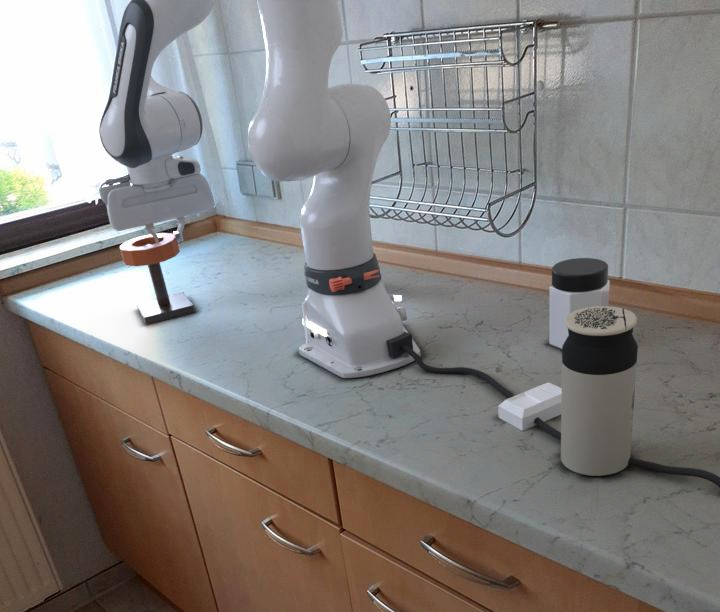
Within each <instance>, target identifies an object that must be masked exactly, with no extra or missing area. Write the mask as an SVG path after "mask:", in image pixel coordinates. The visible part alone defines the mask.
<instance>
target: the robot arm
mask: <svg viewBox="0 0 720 612" xmlns="http://www.w3.org/2000/svg"><path fill="white" fill-rule="evenodd" d="M215 2H216V0H130V1H129V3H128V4H127V6H125V9H124V11H123V14H122V17H121V22H120V26H119V31H118V36H117V42H116V48H115V54H114V59H113V67H112V73H111V78H110V83H109V87H108V95H107V99H106V103H105V104H104V107H103V110H102V112H101V115H100V121H99V126H98V127H99V129H98V130H99V131H98V132H99V136H100V137H99V138H100V141H101V145H102V147H103V148H104V150H105V152H106V153H107V154H108V155H109V156H110V157H111V158H113V159H114V160H115V161H116V162H117V163H119V164H121V165H122V166H125V167H126V171H127V174H124V175H120V176H117V177H109V178H106V179H104V181H103V182H102V183H101V184H100V185H99V188H98V192H99V196H100V199H101V201H102V202H103V204H104V205H105V206H106V210H107V216H108V217H107V218H108V222H109V225H110V227H111V228H112V229H113V230H115V231H116V232H121V231H126V230H130V229H134V228H139V227H145V230H146V231H147V232H148V233H149V234H151V235H152V236H153V237H154V238H155V242H156V243H158V242H161V241H162V240H163V236H162V235H158V236H157V235H156V233H155V232H154V230H155V225H154V224H158V223H161V222H166V221H171V220H175V221H176V222H177V224H178V226H177V229H176V231H173V232H172V234H174V235H175V236H176V238H177V242H178V243H179V242H184V241H185V239H184V235H183V231H184V229H185V225H186V219H185V217H189V216H193V215H199V214H203V213H207V212H211V211H213V210H214V208H215V206H216V205H215V203H216V202H215V199H214V195H213V192H212V189H211V185H210V184H209V181H208V179H207V178H206V176H204V175H203V174H202V173H201V164H200V162H199V161H198V160H196V158H195V159H194V158H192V157H189V156H182V155H175V154H176V153H180V152H183V151H186V150H190V149H191V148H193V147H194V146H196V145H198V144H199V142H200V140H201V138H202V136H203V135H202V134H203V127H204V126H203V118H202V114H201V111H200V108H199V107H198V105H197V103H196V101H194V99H193V98H192V97H191V96H190V95H189V94H187V93H185V92H184V91H176V90H173V89H170V88H168V87H165V86H163V85H162V84H160V83H158V82H157V81H156V80H155V79H154V77H153V76H152V72H153V67H154V64H155V62H156V60H157V59H158V57H159V55H160V54H161V53H162V51H164V50H165V49H166V48H167V47H168V46H169V45H170V44H172V43H173V42H174V41H176V39H178V38H179V37H181V36H182V35H184V34H186V33H187V32H189V31H191V30H193V29H194V28H196V27H198V26H199V25H200V24H201V23H203V22H204V21H205V20H206V19H207V18H208V17H209V16H210V14H211V12H212V11H213V8H214V5H215ZM256 3H257V8H258V12H259V18H260V19H259V20H260V24H261V29H262V35H263V41H264V48H265V77H264V85H263V92H262V96H261V100H260V103H259V106H258V108H257V110H256V112H255V114H254V116H253V118H252V119H251V121H250V123H249V126H248V130H247V148H248V153H249V155H250V158H251V160H252V162H253V164H254V166H255V167H256V169H257V170H258V171H259V172H260V173H261V175H263V176H264V177H265V178H266V179H268V180H269V181H273V182H276V183H277V182H282V183H283V182H296V181H297V182H298V181H305V180H308V179H310V178H313V180H312V186H311V190H310V193H309V195H308V197H307V199H306V201H305V202H304V204H303V205H302V208H301V210H300V212H299V213H300V214H299V220H298V221H299V227H300V234H301V239H302V240H301V241H302V245H303V252H304V258H305V263H304V265H303V267H304V278H305V282H306V287H307V288H308V291H307V294H306V297H305V298H304V300H303V302H302V303H301V310H302V312H301V313H302V319H301V320H302V325H303V329H304V337H305V342H304V343H302V344H301V345H300V346H299V347H298V354H299V355H300V356H301V357H303V358H305V359H307V360H309V361H311V362H313V363H314V364H316V365H318V366H319V367H321V368H323V369H325V370H327V371H329V372H330V373H332V374H334V375H337V376H338V377H340V378H342V379H355V378H363V377H369V376H374V375H377V374H381V373H385V372H388V371H392V370H395V369H398V368H401V367H403V366H406V365H408V364H410V363H411V364H412V363H413V362H416V364H417V366H418V367H419V368H420V369H422V370H423V371H426V372H428V373H431V374H440V375H448V374H468V375H471V376H474V377H477V378H480V379H482V380H483V381H485V382H486V383H487V384H489V385H490V386H492V387H493V388H494V389H495V390H496V391H498V392H499V393H500V394H502V395H503V396H504V397H505V398H506V399H508V398H511V397H513V396H515V395H514V394H513V393H512V392H511V391H510V390H509V389H508V388H507V387H505V386H504V385H502V384H500V382H498V381H497V380H496V379H494V378H493V377H492V376H490V375H489V374H487V373H485V372H483V371H481V370H478V369H475V368H472V367H471V368H470V367H462V366H459V367H435V366H431V365H428V364H426V363H425V362H424V361H423V359H422V358H421V357H422V353H421V350H420V348H419V346H418V344H417V343H416V341H414V339H413V334H412V333H409V332H408V330H407V329H406V327H405V326H404V325H403V322H406V321H407V319H408V316H407V310H406V308H405V306H400V307H396V305H395V302H401V301H402V295H399V294H397V295H396V294H393V293H389V291H388V290H387V287H386V285H385V282H383V281H382V274H381V273H382V272H381V270H380V269H381V268H380V267H381V266H380V263H379V261H378V259H377V254H376V253H375V252H374V247H373V237H372V226H371V213H370V205H371V201H370V200H371V189H372V183H373V179H374V173H375V168H376V164H377V160H378V157H379V155H380V152H381V149H382V148H383V146H384V144H385V142H386V141H387V139H388V137H389V135H390V131H391V126H392V116H391V111H390V108H389V105H388V103H387V100H386V98H385V97H384V96H383V94H382V93H381V92H380V91H379V90H378V89H376V88H375V86H374V87H373V86H372V85H368V84H362V83H361V84H359V83H341V84H338V85H337V84H336V85H334V86H330V87H329V75H330V67H331V64H332V59H333V57H334V54H335V53H336V52H337V50H338V49H339V47H340V45H341V42H342V40H343V32H344V31H343V25H342V17H341V13H340V12H341V11H340V6H339V0H256ZM534 423H535V424H536V425H535V426H537V427H538V428H539V429H541V430H542V431H543V432H545V433H547V435H550V436H551V437H552V438H555V439H557V440H558V441H560V442H561V431H559V430H557V429H555V428H554V427H553V426H551V425H549V424H548V423H547V422H546V421H545V422H543V421H542V420H541V419H540V418H538V417H537V418H535V420H534ZM628 466H631V467H636V468H641V469H646V470H649V471H654V472H657V473H661V474H668V475H676V476H687V477H695V478H699V479H700V478H701V479H704V480H706V481H709V482H711V483H713V484H714V485H715V486H717V487H718V488H719V489H720V476H718V475H717V474H714V473H713V472H711V471H708V470H703V469H700V468H693V467H680V466H671V465H665V464H660V463H656V462H652V461H649V460H648V461H647V460H643V459H639V458H633V457H630V458H629V461H628Z"/></svg>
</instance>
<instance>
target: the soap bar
mask: <svg viewBox="0 0 720 612" xmlns="http://www.w3.org/2000/svg"><path fill="white" fill-rule="evenodd" d="M561 404H562V387H559V386H558V385H555V384H553V383H551V382H546V383H543V384H541V385H538V386H536V387H535V386H534V387H533V388H531V389H528V390H525V391H523V392H521V393H519V394H516V395H514V396H513V397H511V398H506V399H504V401H502V402H501V403H500V404H499V405H498V406H497V408H498V409H497V410H498V411H497V413H498V419H500V420H502V421H504V422H506V423H508V424H509V425H510V426H513V427H515V428H516V429H518V430H519V431H522V432H523V431H526V430H528V429H531V428H533V427H535V426H537V425H536V424H535V423H534V420H535V418H537V417H538V418H540V419H541V420H542V421H543V422H545V423H546V421H549V420H551V419H554V418H556V417H558V416H561Z"/></svg>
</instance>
